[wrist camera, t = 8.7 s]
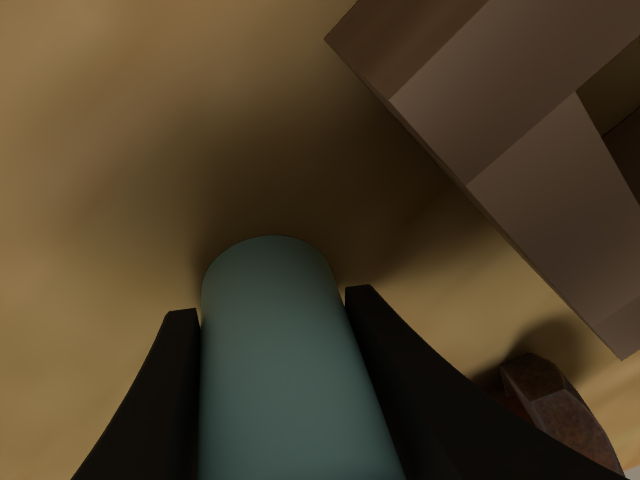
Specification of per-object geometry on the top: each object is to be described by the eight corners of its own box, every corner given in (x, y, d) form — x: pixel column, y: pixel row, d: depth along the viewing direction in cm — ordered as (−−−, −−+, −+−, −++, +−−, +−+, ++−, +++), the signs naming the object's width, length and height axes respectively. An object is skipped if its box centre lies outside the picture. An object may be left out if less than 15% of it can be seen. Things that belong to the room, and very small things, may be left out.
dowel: (173, 301, 12) (148, 557, 7) (263, 210, 11) (306, 435, 6) (273, 352, 14) (307, 581, 9) (358, 278, 13) (449, 492, 8)
